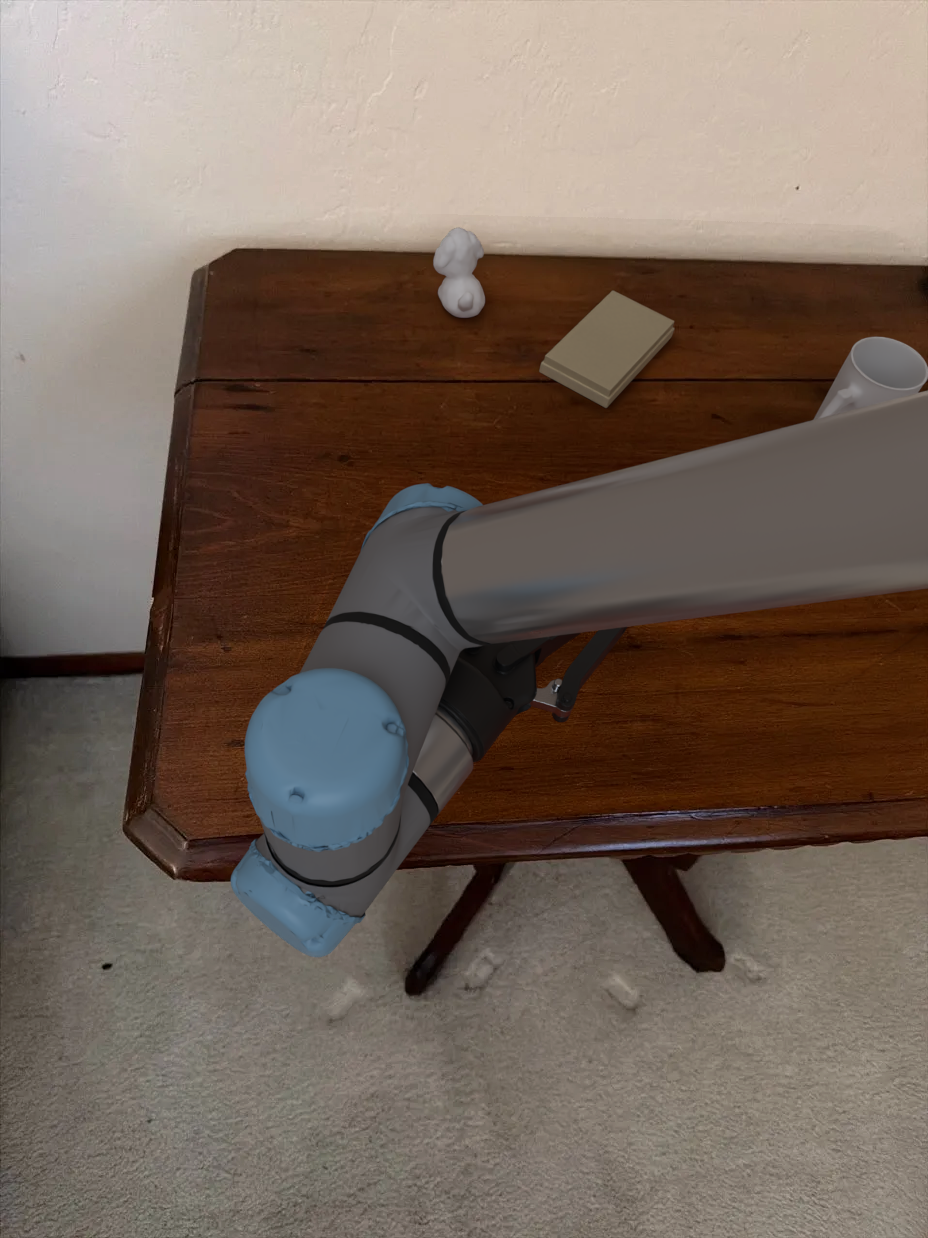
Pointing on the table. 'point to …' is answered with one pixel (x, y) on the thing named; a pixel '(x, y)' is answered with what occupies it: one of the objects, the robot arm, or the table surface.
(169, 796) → the table surface
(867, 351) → the mug
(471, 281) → the figurine
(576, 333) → the beige stepped flat slab
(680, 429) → the table surface
